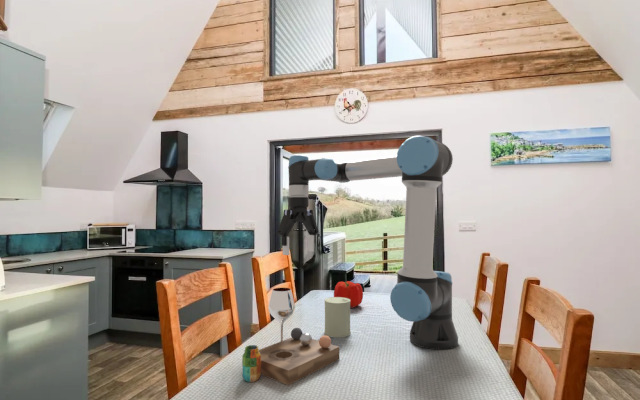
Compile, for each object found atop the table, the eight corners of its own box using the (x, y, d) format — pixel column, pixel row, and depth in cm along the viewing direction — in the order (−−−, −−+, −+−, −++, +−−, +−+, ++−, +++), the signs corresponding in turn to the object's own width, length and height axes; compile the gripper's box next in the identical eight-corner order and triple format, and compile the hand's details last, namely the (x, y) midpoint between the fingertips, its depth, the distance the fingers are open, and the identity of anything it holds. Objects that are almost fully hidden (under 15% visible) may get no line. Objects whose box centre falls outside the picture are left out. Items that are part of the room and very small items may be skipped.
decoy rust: (333, 347, 107) (333, 335, 107) (326, 351, 105) (326, 338, 105) (324, 344, 110) (324, 332, 110) (316, 348, 107) (316, 335, 107)
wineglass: (270, 353, 112) (270, 292, 113) (266, 344, 120) (267, 287, 121) (297, 350, 115) (297, 291, 115) (291, 341, 123) (292, 286, 123)
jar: (261, 375, 98) (262, 344, 98) (259, 383, 93) (259, 350, 93) (243, 375, 98) (244, 344, 98) (240, 383, 93) (240, 350, 93)
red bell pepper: (329, 303, 173) (329, 280, 174) (356, 301, 177) (356, 279, 178) (339, 311, 160) (339, 286, 161) (368, 308, 164) (368, 284, 165)
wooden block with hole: (339, 359, 108) (339, 346, 108) (288, 385, 92) (288, 370, 92) (298, 346, 118) (298, 334, 118) (245, 368, 102) (246, 354, 102)
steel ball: (314, 345, 109) (314, 333, 109) (306, 348, 107) (306, 336, 107) (305, 342, 112) (305, 330, 112) (297, 345, 109) (297, 333, 109)
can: (348, 338, 126) (348, 302, 126) (321, 336, 128) (322, 301, 128) (352, 329, 135) (352, 296, 135) (326, 328, 137) (326, 295, 137)
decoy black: (304, 339, 114) (304, 327, 114) (297, 342, 112) (297, 330, 112) (296, 336, 117) (296, 325, 117) (288, 339, 114) (288, 328, 114)
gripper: (312, 198, 154) (313, 249, 154) (267, 196, 135) (267, 255, 134) (327, 197, 149) (327, 251, 149) (281, 195, 130) (281, 257, 130)
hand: (298, 253), depth 142 cm, fingers open, 13 cm apart
